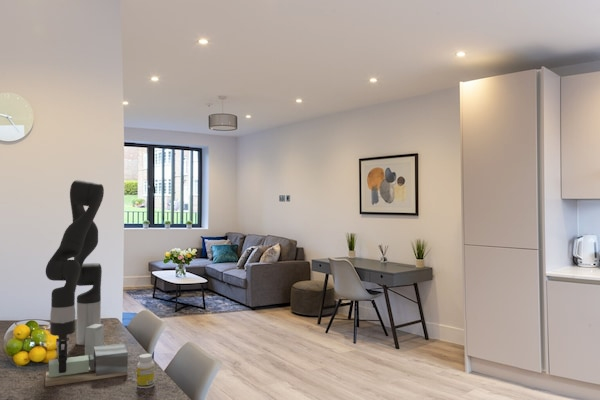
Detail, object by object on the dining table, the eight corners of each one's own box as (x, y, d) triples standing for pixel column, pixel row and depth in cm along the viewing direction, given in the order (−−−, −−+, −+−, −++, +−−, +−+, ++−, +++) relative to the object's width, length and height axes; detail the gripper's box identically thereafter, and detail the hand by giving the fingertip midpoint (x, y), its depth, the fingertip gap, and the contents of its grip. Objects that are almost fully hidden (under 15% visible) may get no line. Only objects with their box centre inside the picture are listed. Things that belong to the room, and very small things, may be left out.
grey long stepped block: (45, 374, 163) (46, 352, 163) (123, 364, 174) (123, 343, 174) (44, 386, 152) (45, 362, 152) (127, 374, 164) (127, 352, 164)
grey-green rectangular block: (49, 371, 161) (49, 360, 161) (92, 365, 167) (92, 354, 167) (48, 377, 156) (48, 365, 156) (93, 370, 162) (93, 359, 162)
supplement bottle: (139, 382, 156) (139, 352, 156) (156, 382, 157) (156, 352, 157) (134, 389, 151) (135, 358, 151) (152, 388, 151) (152, 357, 151)
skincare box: (94, 360, 179) (94, 328, 179) (84, 359, 179) (84, 327, 180) (104, 355, 184) (104, 324, 185) (94, 354, 185) (94, 323, 185)
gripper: (50, 315, 165) (50, 364, 165) (49, 325, 152) (49, 378, 152) (74, 313, 168) (74, 361, 168) (75, 322, 155) (75, 374, 155)
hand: (62, 369), depth 160 cm, fingers closed on grey-green rectangular block, 5 cm apart
